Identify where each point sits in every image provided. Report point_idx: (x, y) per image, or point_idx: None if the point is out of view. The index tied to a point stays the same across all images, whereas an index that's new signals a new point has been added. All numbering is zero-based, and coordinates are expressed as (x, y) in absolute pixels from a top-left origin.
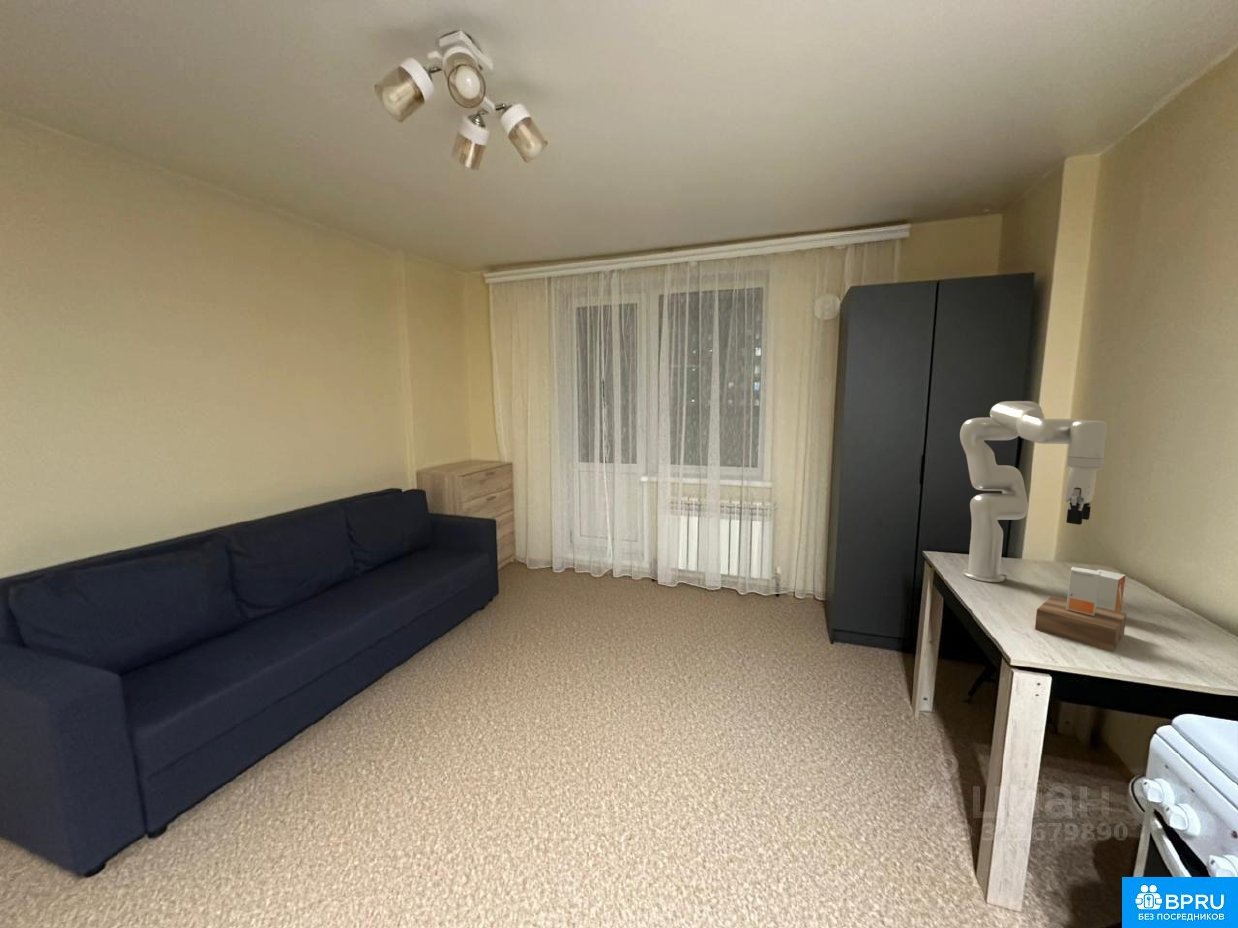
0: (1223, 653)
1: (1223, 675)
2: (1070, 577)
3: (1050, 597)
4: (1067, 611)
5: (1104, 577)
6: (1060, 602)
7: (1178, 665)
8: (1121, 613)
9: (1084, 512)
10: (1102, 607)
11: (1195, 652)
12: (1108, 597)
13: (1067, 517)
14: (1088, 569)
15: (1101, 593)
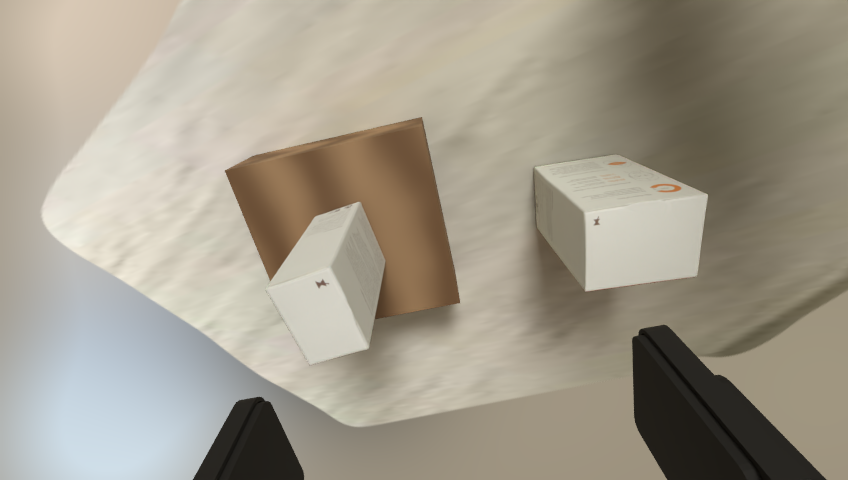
0: (524, 391)
1: (392, 417)
2: (278, 271)
3: (401, 131)
4: (307, 223)
5: (583, 252)
6: (377, 173)
7: (363, 375)
8: (448, 296)
9: (681, 466)
10: (544, 213)
11: (477, 369)
12: (557, 238)
13: (215, 450)
14: (349, 318)
15: (559, 223)
